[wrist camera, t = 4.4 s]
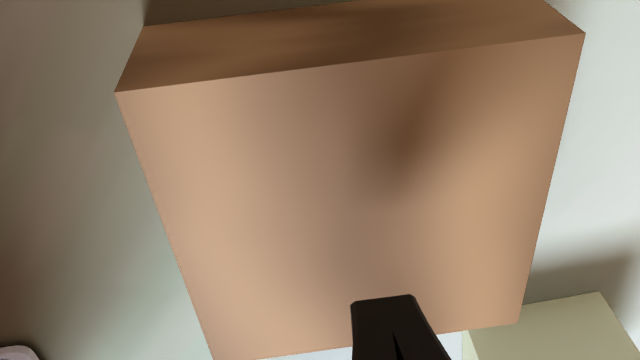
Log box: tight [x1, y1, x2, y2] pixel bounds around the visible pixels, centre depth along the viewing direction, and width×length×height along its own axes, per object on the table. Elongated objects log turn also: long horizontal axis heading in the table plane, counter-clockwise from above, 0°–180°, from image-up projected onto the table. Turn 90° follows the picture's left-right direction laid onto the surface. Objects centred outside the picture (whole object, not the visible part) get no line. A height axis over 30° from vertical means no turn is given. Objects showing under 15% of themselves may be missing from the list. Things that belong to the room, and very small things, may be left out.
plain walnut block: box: [114, 0, 586, 360], centre depth 16 cm, size 10×10×4 cm
